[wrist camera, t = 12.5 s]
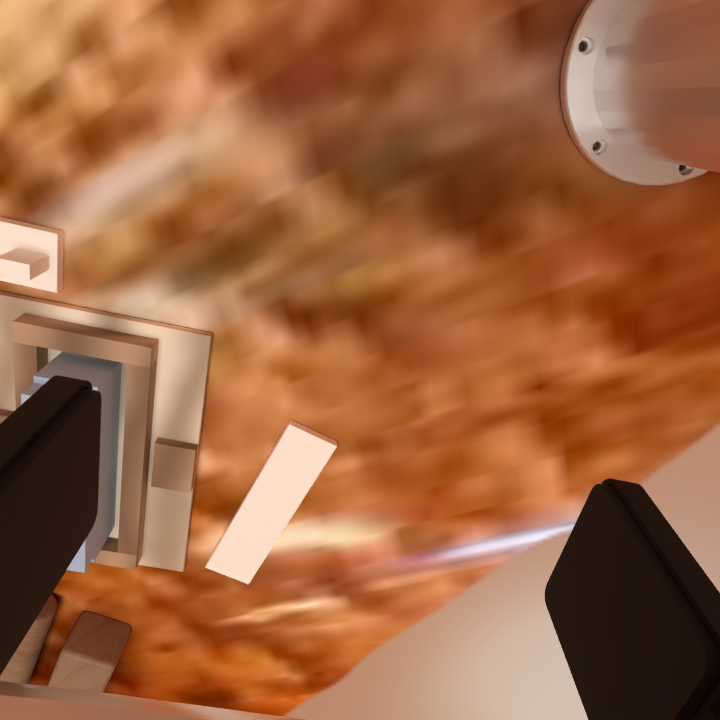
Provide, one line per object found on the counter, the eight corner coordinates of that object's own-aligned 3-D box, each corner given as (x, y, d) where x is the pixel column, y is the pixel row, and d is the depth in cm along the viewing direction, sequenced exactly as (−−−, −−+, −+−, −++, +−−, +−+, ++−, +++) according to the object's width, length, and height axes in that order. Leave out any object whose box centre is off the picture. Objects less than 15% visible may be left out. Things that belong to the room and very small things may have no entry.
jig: (212, 333, 40) (205, 344, 38) (185, 566, 49) (177, 585, 47) (-25, 286, 38) (-45, 295, 36) (-9, 535, 47) (-24, 553, 45)
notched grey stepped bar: (63, 350, 40) (20, 386, 35) (121, 361, 40) (87, 398, 35) (64, 529, 46) (28, 581, 41) (114, 537, 47) (84, 589, 42)
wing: (337, 437, 44) (336, 446, 43) (250, 573, 50) (248, 584, 49) (290, 415, 43) (289, 424, 42) (208, 556, 49) (205, 567, 48)
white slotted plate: (66, 230, 37) (38, 242, 34) (65, 287, 39) (37, 304, 36) (-29, 208, 37) (-67, 219, 33) (-26, 267, 38) (-62, 283, 35)
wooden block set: (113, 672, 47) (59, 789, 53) (137, 615, 52) (85, 728, 58) (-104, 606, 43) (-133, 739, 50) (-55, 552, 49) (-88, 679, 55)
